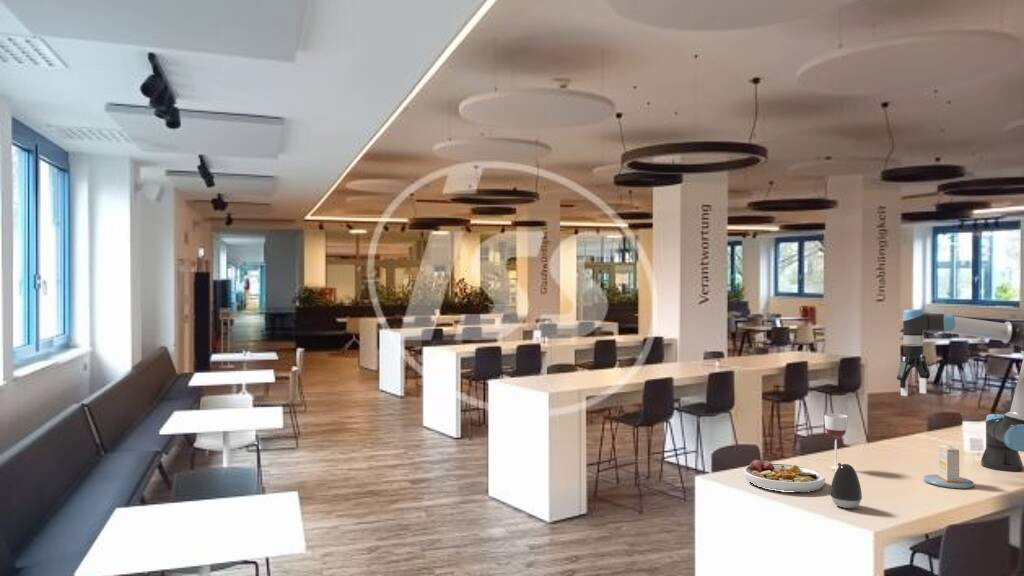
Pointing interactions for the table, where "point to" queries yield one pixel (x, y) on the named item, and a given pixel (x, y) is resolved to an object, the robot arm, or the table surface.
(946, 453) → the supplement box
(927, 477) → the dish
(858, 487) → the black egg-shaped piece
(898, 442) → the table surface
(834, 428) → the wineglass
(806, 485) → the bowl
